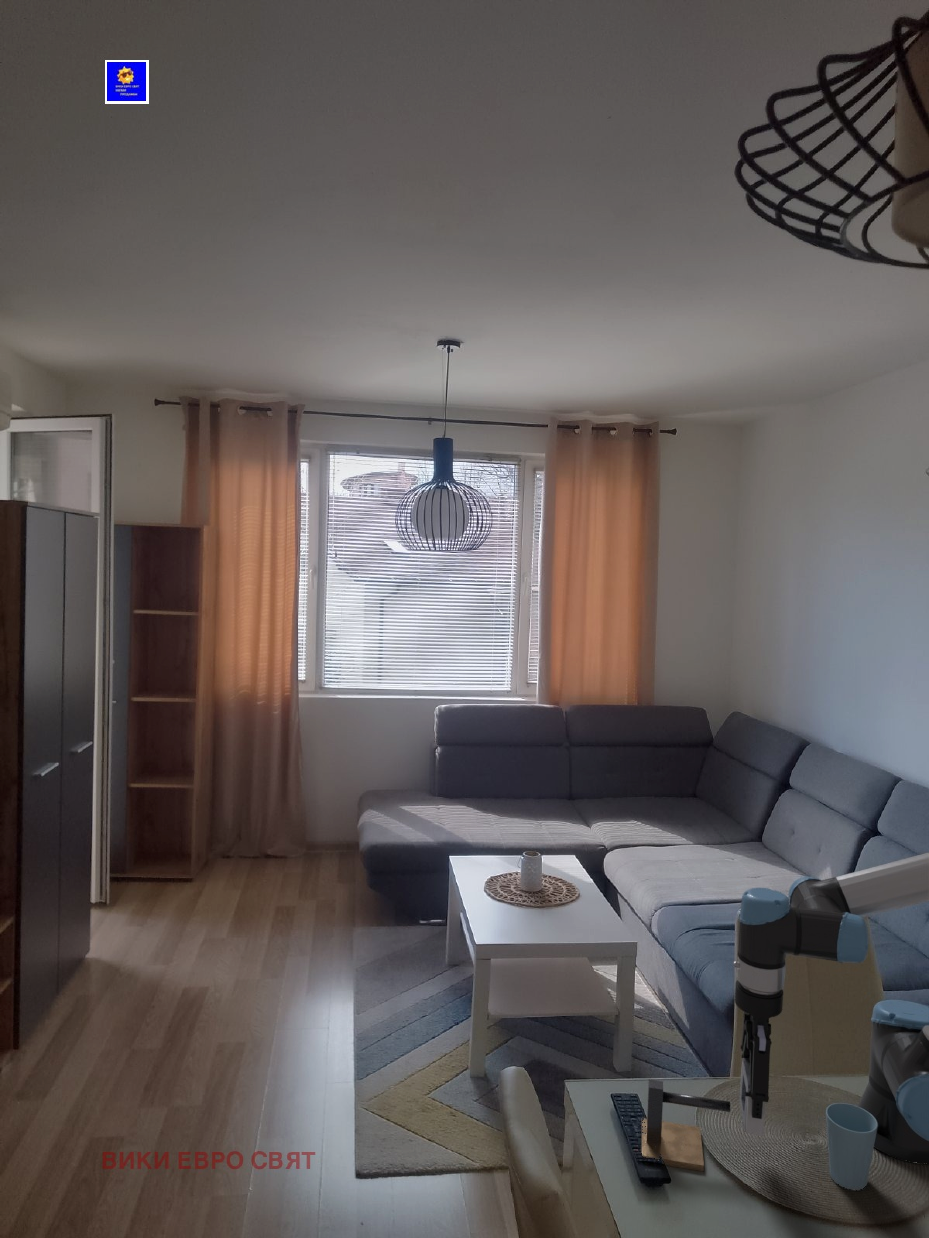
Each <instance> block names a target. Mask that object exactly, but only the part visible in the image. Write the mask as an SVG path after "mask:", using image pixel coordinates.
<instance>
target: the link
mask: <svg viewBox="0 0 929 1238" xmlns="http://www.w3.org/2000/svg"><path fill="white" fill-rule="evenodd" d="M741 1069H742V1074H741V1073H740V1085H741V1087H740V1088H739V1101H738V1102H739V1109H740V1114H741V1120H742V1125H743V1130H744V1131H743V1132H744V1133H746V1131H745V1130H746V1114H747V1098H748V1097H747V1096H745V1092H749V1091H750V1059H747V1058H743V1060H742V1062H741Z"/></svg>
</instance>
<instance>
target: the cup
mask: <svg viewBox="0 0 929 1238" xmlns="http://www.w3.org/2000/svg"><path fill="white" fill-rule="evenodd" d="M825 1117H826V1118H825V1119H826V1120H825V1121H826V1123H825V1124H826V1130H827V1131H826V1132H827V1149H828V1165H829V1176H830V1178H831V1179H832V1181H833V1180H834V1181H833V1182H834V1183H835V1184H837V1185H838V1184H839V1185H838V1186H839V1187H841V1188H843V1187H845V1188H844V1189H846V1188H847V1189H846V1190H849V1189H857V1191H860V1190H859V1189H862V1190H864V1189H865V1188H866V1187H867V1184H868V1180H869V1175H870V1170H871V1163H872V1159H873V1154H874V1153H873V1152H874V1149H875V1147H874V1143H875V1138H876V1133H877V1127H878V1123H877V1121H876V1119H875V1118H874V1116H873V1115H872V1114H870V1113H869V1112H868V1111H866V1110H864V1109H862V1108H860V1107H858V1105H854V1104H851V1103H846V1102H835V1103H831V1104H830V1105H828V1106H827V1107H826V1108H825ZM865 1186H866V1187H865ZM864 1187H865V1188H864ZM863 1188H864V1189H863Z"/></svg>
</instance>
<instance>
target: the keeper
mask: <svg viewBox="0 0 929 1238" xmlns="http://www.w3.org/2000/svg"><path fill="white" fill-rule="evenodd" d="M647 1089H648V1090H647V1110H646V1111H647V1112H646V1113H647V1114H646V1118H644V1117H643V1118H644V1120H643V1121H642V1120H641V1153H642V1156H643V1157H646V1158H655V1159H660V1158H659V1156H660V1154H661V1157H662V1160H663V1161H664V1163H665V1165H664V1166H668V1167H674V1168H681V1169H688V1170H693V1171H699V1172H704V1171H705V1161H704V1155H703V1154H704V1153H703V1144H702V1143H703V1142H702V1132H701V1127H700V1126H696V1125H690V1124H689V1125H688V1124H683V1123H675V1122H669V1121H665V1120H664V1121H663V1107H664V1106H663V1105H664V1104H663V1103H666V1104H673V1105H680V1106H687V1107H692V1108H693V1107H694V1108H699V1109H706V1110H714V1111H721V1112H727V1113H730V1112H731V1101H730V1100H724V1099H715V1098H709V1097H703V1096H696V1095H689V1094H682V1093H675V1092H669V1091H664V1081H662V1080H658V1079H657V1080H656V1079H648V1088H647ZM642 1122H643V1123H642ZM644 1122H645V1123H644ZM642 1126H643V1128H642ZM645 1126H646V1127H645ZM642 1129H643V1130H642ZM642 1132H644V1133H642ZM645 1133H646V1134H645ZM655 1146H656V1147H655ZM659 1153H660V1154H659Z"/></svg>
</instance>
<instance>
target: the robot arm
mask: <svg viewBox="0 0 929 1238" xmlns="http://www.w3.org/2000/svg"><path fill="white" fill-rule="evenodd" d="M926 902H929V852H925V853H922V854H918V855H914V856H910V857H907V858H902V859H899V860H895V861H892V862H888V863H885V864H884V863H883V864H880V865H876V866H872V867H869V868H865V869H862V870H861V869H860V870H857V871H854V872H849V873H846V874H842V875H838V876H834V877H831V878H826V879H820V878H817V877H815V876H807V875H806V876H801V877H799V878H797V879H796V880H795V881H794V882H793V883H792V884H791V886H790V887H789V890H788V896H787V895H786V894H785V893H783V892H781V891H779V890H773V889H770V888H766V887H752V888H749V889H747V890H745V891H744V892H743V894H742V897H741V904H740V912H739V916H738V917H739V919H738V920H739V922H738V939H737V940H738V941H737V942H738V943H737V944H738V945H737V960H736V961H733V962H732V963H733V964H732V966H733V967H734V968H735V969H736V976H735V977H736V979H737V980H736V982H735V989H734V1003H735V1005H736V1006H737V1008H739V1009H740V1010H741V1011H742V1012H743V1025H742V1033H741V1044H740V1050H741V1052H742V1053H741V1060H742V1061H743V1058H747V1059H750V1091H749V1092H745V1096H747V1097H748V1098H747V1114H746V1130H745V1131H746V1132H745V1134H749V1135H753V1136H760V1137H764V1136H765V1134H764V1132H765V1119H766V1117H765V1116H766V1103H769V1100H770V1096H769V1093H770V1092H769V1087H770V1063H771V1062H770V1061H771V1057H770V1056H771V1046H772V1039H771V1034H772V1024H771V1023H770V1019H771V1018H775V1017H778V1016H780V1014H781V1013H782V1012H783V1006H784V1004H783V1003H784V988H785V980H786V979H785V978H786V967H787V966H786V957H787V955H791V956H798V957H804V958H811V959H819V960H826V961H831V962H832V961H833V962H838V963H840V964H841V963H852V964H853V963H854V964H860V963H863V962H865V960H866V958H867V957H868V951H869V929H868V926H867V925H868V924H867V922H866V920H865V918H866V917H870V916H874V915H877V914H883V913H886V912H890V911H894V910H899V909H902V908H906V907H911V906H915V905H919V904H923V903H926ZM870 1021H871V1034H870V1036H871V1037H870V1051H869V1069H868V1070H869V1074H868V1083H867V1085H866V1087H865V1089H864V1091H863V1093H862V1096H861V1097H860V1100H859V1102H858V1104H857V1106H858V1107H860V1108H862V1109H864V1110H866V1111H868V1112H869V1113H870V1114H872V1115H873V1116H874V1118H875V1119H876V1121H877V1123H878V1127H877V1133H876V1138H875V1143H874V1149H877V1150H878V1151H880V1152H882V1153H884V1154H886V1155H887V1156H890V1157H892V1158H895V1159H896V1160H901V1161H903V1160H907V1161H910V1162H909V1163H911V1162H917V1163H925V1164H924V1165H929V1006H927V1005H924V1004H921V1003H917V1002H913V1001H908V1000H901V999H887V1000H886V999H885V1000H881V1001H879V1002H876V1003H875V1004H874V1007H873V1010H872V1015H871V1018H870ZM740 1070H741V1071H740V1075H741V1074H742V1068H741V1069H740ZM739 1086H740V1087H741V1084H739ZM907 1161H906V1162H907ZM917 1163H916V1164H917ZM926 1163H927V1164H926Z"/></svg>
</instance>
